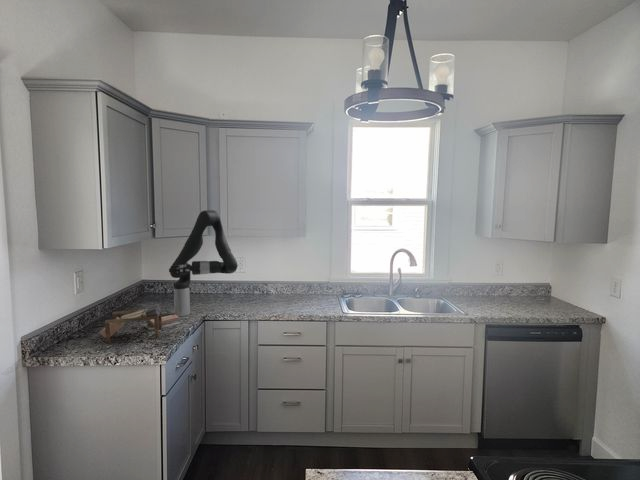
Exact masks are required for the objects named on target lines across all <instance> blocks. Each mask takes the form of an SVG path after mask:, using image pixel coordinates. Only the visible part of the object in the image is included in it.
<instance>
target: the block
mask: <svg viewBox="0 0 640 480" xmlns="http://www.w3.org/2000/svg"><path fill="white" fill-rule="evenodd" d="M120 318H121V317H119V316H117V318H116V319H120ZM109 324H110V338H111V337H112V336H113V335H114V334H117V333H118V331H120V330H121V329H122V327H124V326H125V324H126V322H124V323H121V324H118V325H117V322H115V323H109ZM116 332H117V333H116ZM99 334H100V335H101V336H102V337H103V338H105V339H106V334H105V327H104V328H103V329H101V331H100V332H99Z"/></svg>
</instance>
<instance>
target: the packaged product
mask: <svg viewBox="0 0 640 480" xmlns="http://www.w3.org/2000/svg"><path fill="white" fill-rule="evenodd" d="M146 322H147V323H144V324H143V326H144V328H146V329H147V330H149V331H155V326H154V319H151V320H146ZM182 323H183V322H182V321H181V318H180V316H177V315H176V314H175V313H174V314H170V315H164V316H162V329H163V328H167V327H172V326H176V325H181V324H182ZM158 330H160V329H159V328H158Z"/></svg>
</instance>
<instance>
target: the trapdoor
mask: <svg viewBox="0 0 640 480" xmlns="http://www.w3.org/2000/svg"><path fill="white" fill-rule="evenodd" d="M160 308H161V306H160V304H159V302H158V303H154V304H152V305H149V306H148V307H146V308H143V309H138V310H139V311H136V312H132V313H129V314H122V315H121V317H119V318H120V319H125V318H137V317H149V316H159V314H160V312H161V313H162V308H161V309H160ZM127 322H129V321H127ZM127 322H126V323H127ZM121 323H125V322H117V325H118V324H121Z"/></svg>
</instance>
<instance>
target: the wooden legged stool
mask: <svg viewBox="0 0 640 480" xmlns="http://www.w3.org/2000/svg"><path fill="white" fill-rule="evenodd" d="M160 309H161V310H162V307H160ZM139 310H140V309H131V310H130V309H129V310H119V311H118V310H117V311H112V313H111V315H112V319H105V320H104V328H105V334H106V338H105V344H107V345H108V344H110V343H111V337H110V323H115V322H124V323H127V321H128V322H139V321H147V320H151V319H154V326H155V329H154V339H156V340H157V339H159V338H160V334H159V333H160V332H159V330H162V329H163V328H162V317H163V316H162V311H161V312H160V314H159V316H149V317H147V316H144V317H137V318H125V319H116V318H117V317H118V315H126V314H129V313H132V312H136V311H139ZM158 328H159V329H158ZM115 334H118V331H117V332H116V333H115Z"/></svg>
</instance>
